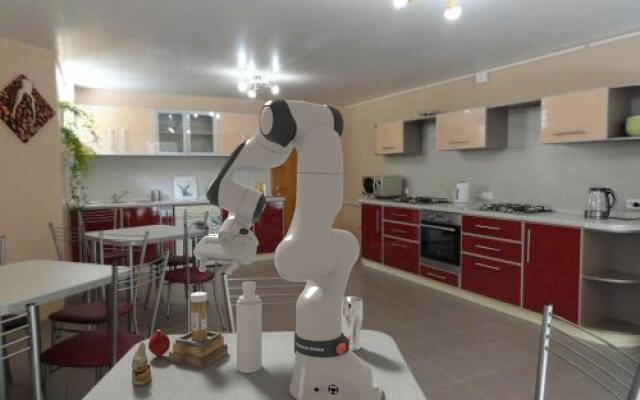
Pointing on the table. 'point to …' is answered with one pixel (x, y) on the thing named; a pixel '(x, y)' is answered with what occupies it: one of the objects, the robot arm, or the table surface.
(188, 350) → the brown wooden square tray
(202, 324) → the sprinkles bottle
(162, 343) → the onion
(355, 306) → the beer glass
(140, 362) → the chocolate bunny
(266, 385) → the table surface
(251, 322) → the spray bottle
